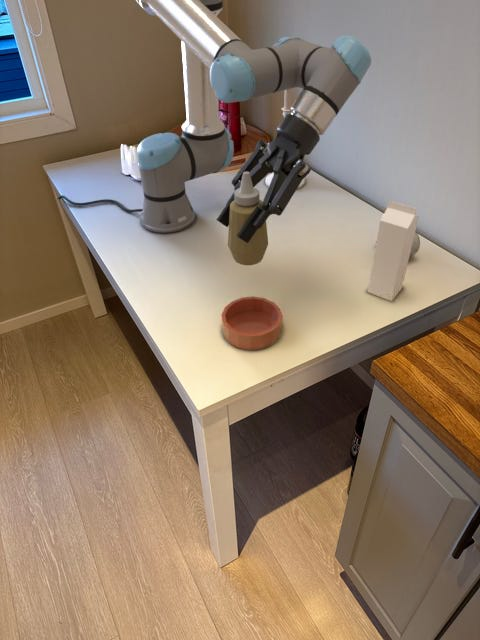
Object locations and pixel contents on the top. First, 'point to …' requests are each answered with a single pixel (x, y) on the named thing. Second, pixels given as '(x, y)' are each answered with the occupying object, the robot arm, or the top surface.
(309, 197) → the top surface
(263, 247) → the squeeze bottle
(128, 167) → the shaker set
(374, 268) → the milk
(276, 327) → the holder
